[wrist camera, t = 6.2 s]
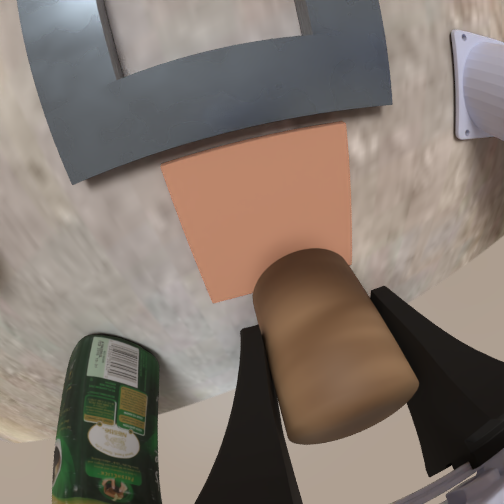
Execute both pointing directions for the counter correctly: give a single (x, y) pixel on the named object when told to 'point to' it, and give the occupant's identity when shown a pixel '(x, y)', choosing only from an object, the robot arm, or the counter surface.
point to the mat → (263, 203)
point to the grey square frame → (194, 80)
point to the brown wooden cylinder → (328, 348)
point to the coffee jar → (108, 426)
